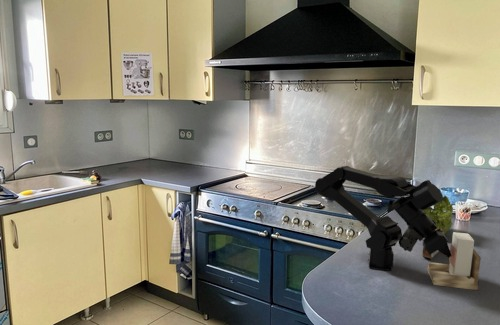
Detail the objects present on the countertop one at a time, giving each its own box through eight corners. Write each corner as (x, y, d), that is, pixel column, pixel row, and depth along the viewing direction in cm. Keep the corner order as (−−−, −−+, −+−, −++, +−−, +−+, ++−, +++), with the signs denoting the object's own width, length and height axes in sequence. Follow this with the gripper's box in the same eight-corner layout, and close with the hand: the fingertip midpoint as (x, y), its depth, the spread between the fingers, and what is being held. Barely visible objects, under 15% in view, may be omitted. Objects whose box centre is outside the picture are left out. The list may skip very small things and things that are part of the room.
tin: (434, 247, 145) (436, 224, 143) (443, 249, 143) (446, 226, 141) (420, 260, 133) (423, 235, 132) (430, 262, 131) (433, 237, 130)
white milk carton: (452, 279, 117) (456, 238, 115) (447, 270, 122) (451, 232, 120) (469, 281, 116) (474, 240, 114) (463, 272, 121) (468, 233, 119)
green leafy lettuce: (471, 230, 149) (443, 203, 145) (434, 252, 156) (406, 227, 152) (456, 202, 165) (431, 177, 161) (423, 223, 172) (398, 199, 168)
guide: (433, 284, 116) (437, 254, 114) (427, 270, 126) (430, 241, 124) (477, 290, 113) (481, 259, 112) (467, 274, 123) (471, 246, 122)
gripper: (387, 222, 130) (421, 260, 130) (393, 243, 112) (432, 286, 112) (416, 200, 127) (451, 239, 127) (427, 218, 109) (468, 262, 109)
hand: (449, 256), depth 119 cm, fingers closed
